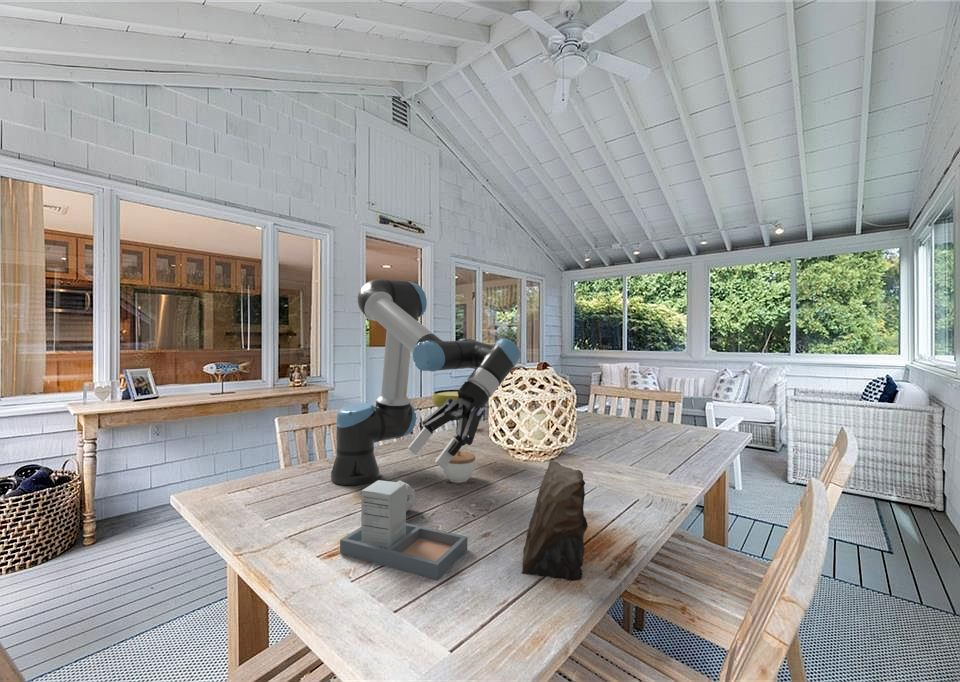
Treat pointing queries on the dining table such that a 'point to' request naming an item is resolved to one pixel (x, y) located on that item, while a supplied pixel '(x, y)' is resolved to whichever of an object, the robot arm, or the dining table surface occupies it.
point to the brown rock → (557, 526)
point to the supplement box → (383, 513)
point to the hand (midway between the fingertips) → (424, 458)
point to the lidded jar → (460, 467)
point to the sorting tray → (411, 551)
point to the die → (409, 496)
